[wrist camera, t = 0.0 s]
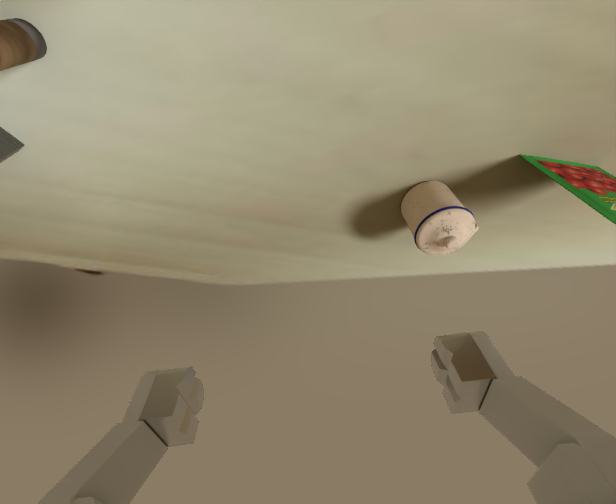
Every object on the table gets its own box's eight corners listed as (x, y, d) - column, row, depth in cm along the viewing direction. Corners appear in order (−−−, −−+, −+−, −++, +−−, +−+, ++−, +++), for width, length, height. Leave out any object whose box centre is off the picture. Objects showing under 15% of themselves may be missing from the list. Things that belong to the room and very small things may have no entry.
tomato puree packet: (600, 164, 50) (735, 240, 36) (595, 170, 51) (725, 247, 36) (520, 151, 48) (629, 227, 33) (516, 158, 49) (621, 235, 34)
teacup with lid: (390, 219, 55) (411, 263, 46) (412, 173, 49) (441, 214, 41) (448, 228, 57) (478, 272, 49) (476, 186, 52) (516, 227, 43)
